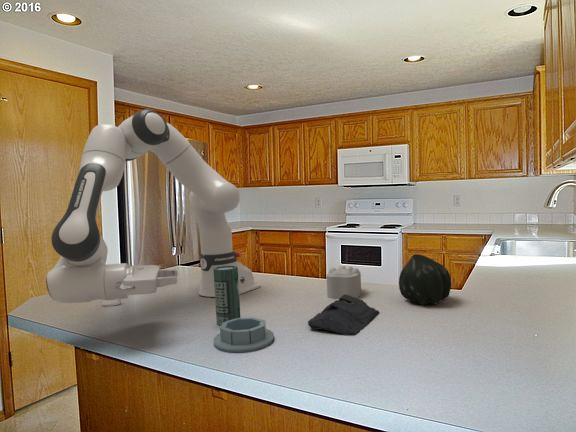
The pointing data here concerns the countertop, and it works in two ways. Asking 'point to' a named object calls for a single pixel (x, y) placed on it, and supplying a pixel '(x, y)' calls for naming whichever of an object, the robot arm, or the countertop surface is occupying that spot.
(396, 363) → the countertop surface
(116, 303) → the eye dropper bottle
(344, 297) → the dark slate chunk
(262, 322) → the collar seat
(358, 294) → the lumpy-topped squat cylinder
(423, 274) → the squash
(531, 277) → the countertop surface
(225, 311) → the can
